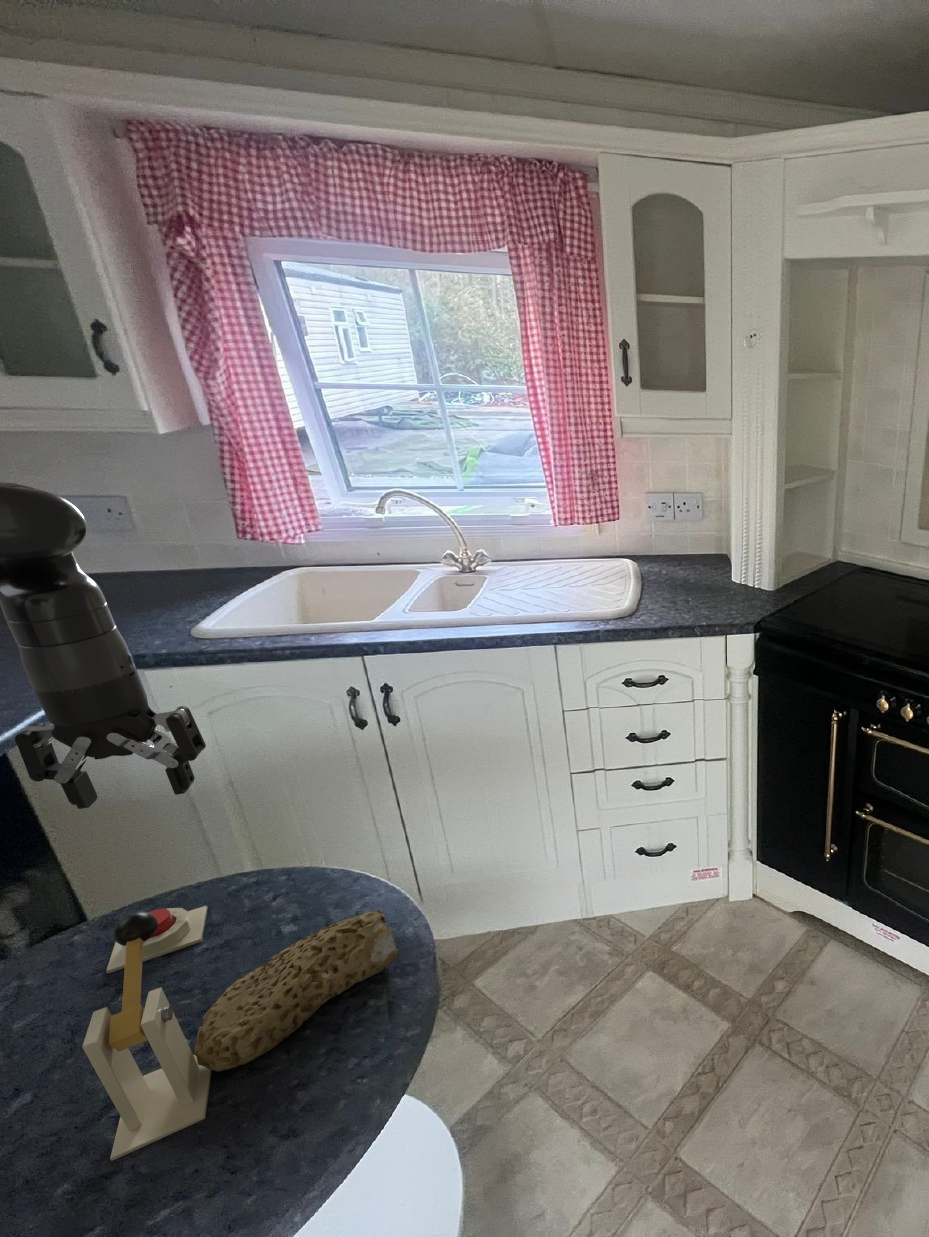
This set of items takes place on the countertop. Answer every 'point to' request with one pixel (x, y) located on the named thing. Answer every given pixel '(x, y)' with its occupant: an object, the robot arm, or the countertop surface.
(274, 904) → the countertop surface
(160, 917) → the button
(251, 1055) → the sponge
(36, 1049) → the countertop surface
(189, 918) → the button block
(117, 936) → the lever
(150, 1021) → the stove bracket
